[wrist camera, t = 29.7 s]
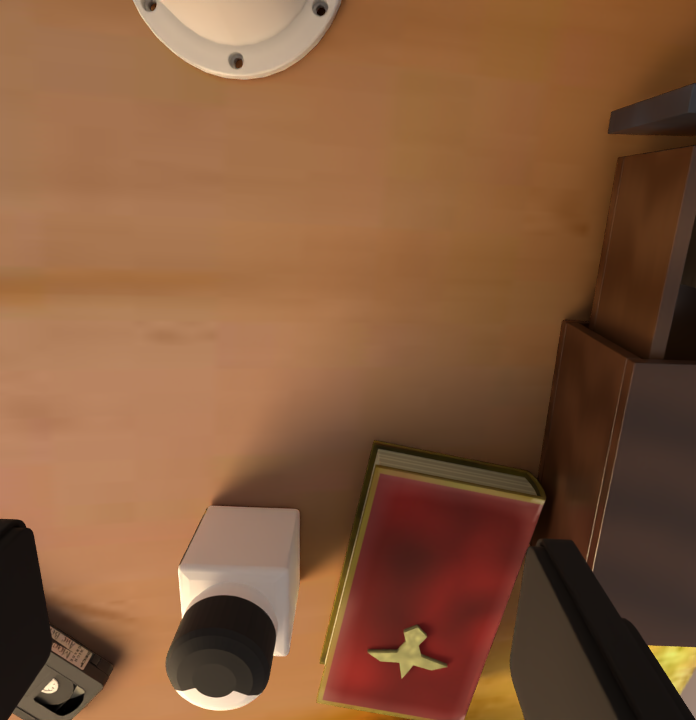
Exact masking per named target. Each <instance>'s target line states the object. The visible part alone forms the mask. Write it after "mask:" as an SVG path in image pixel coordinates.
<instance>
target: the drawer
mask: <svg viewBox="0 0 696 720" xmlns="http://www.w3.org/2000/svg"><path fill="white" fill-rule="evenodd" d="M608 134H636V135H671V136H696V83H693V84H690V85H688V86H685V87H682V88H679V89H676V90H673V91H670V92H667V93H664V94H662V95H659V96H656V97H653V98H650V99H647V100H644V101H641V102H638V103H635V104H633V105H630V106H627V107H624V108H621V109H618V110H615V111H612V112H611V117H610V123H609V129H608ZM695 215H696V145H693V146H687V147H680V148H674V149H668V150H662V151H655V152H649V153H643V154H637V155H631V156H624V157H619V158H618V161H617V167H616V172H615V178H614V184H613V190H612V196H611V201H610V207H609V213H608V219H607V225H606V230H605V236H604V242H603V248H602V254H601V259H600V265H599V271H598V277H597V283H596V289H595V294H594V300H593V306H592V312H591V318H590V323H589V329H590V330H592V331H593V332H595V333H597V334H599V335H601V336H602V337H604V338H606V339H608V340H609V341H611V342H613V343H615V344H617V345H618V346H620V347H622V348H624V349H625V350H627V351H629V352H631V353H633V354H634V355H636V356H638V357H640V358H641V359H659V360H689V361H696V288H693V287H690V286H686V285H682V284H680V283H681V279H682V274H683V270H684V265H685V261H686V256H687V252H688V247H689V243H690V238H691V234H692V229H693V225H694V220H695Z"/></svg>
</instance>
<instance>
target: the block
mask: <svg viewBox="0 0 696 720" xmlns="http://www.w3.org/2000/svg"><path fill="white" fill-rule="evenodd" d="M680 284H682V285H686V286H690V287H693V288H696V215H695V220H694V225H693V229H692V234H691V238H690V243H689V247H688V252H687V256H686V261H685V265H684V270H683V274H682V279H681V283H680Z"/></svg>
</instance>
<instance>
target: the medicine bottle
mask: <svg viewBox="0 0 696 720" xmlns="http://www.w3.org/2000/svg"><path fill="white" fill-rule="evenodd" d="M178 575H179V587H180V599H181V611H182V620H181V622H180V625H179V627H178V630H177V632H176V634H175V637H174V639H173V642H172V644H171V646H170V649H169V651H168V653H167V657H166V671H167V675H168V677H169V679H170V682H171V684H172V686H173V687H174V689H175V690H176V691H177V692H178V693H179V694H180V695H181V696H182V697H183V698H184V699H186V700H187V701H189V702H190V703H192V704H194V705H197V706H199V707H202V708H206V709H211V710H231V709H236V708H239V707H242V706H244V705H246V704H248V703H250V702H251V701H253V700H254V699H255V698H257V697H258V696H259V695H260V694H261V693H262V692H263V690H264V689H265V687H266V685H267V683H268V680H269V676H270V671H271V665H272V660H273V656H286V655H288V653H289V650H290V644H291V637H292V631H293V624H294V618H295V611H296V604H297V598H298V591H299V585H300V513H299V510H297V509H288V508H261V507H233V506H209V507H208V508H207V509H206V511H205V513H204V515H203V517H202V519H201V521H200V523H199V525H198V527H197V529H196V531H195V534H194V536H193V538H192V540H191V542H190V544H189V546H188V548H187V550H186V552H185V554H184V556H183V558H182V560H181V562H180V564H179V567H178Z"/></svg>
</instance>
